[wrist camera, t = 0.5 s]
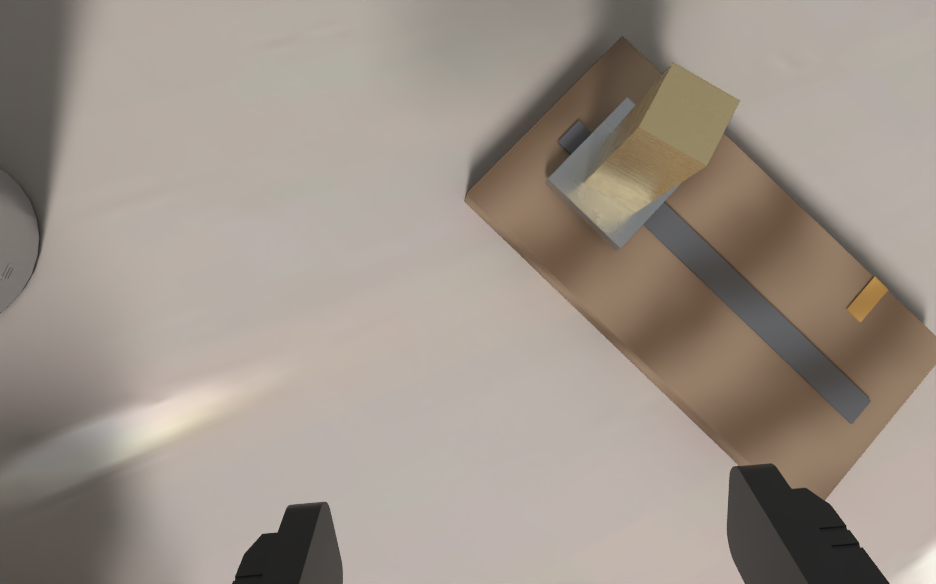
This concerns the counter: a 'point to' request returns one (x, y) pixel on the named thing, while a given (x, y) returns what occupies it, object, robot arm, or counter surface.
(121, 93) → the counter surface
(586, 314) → the fader board
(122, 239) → the counter surface
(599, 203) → the fader lever
